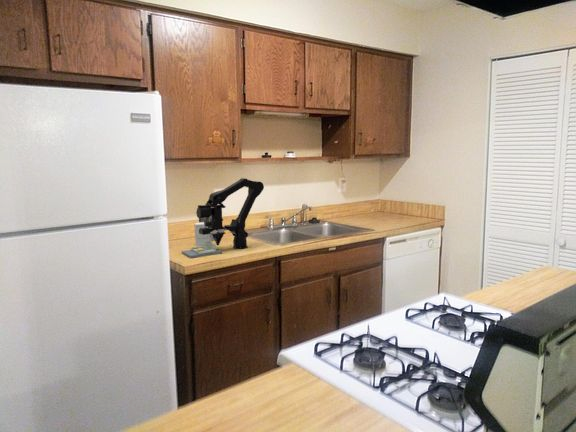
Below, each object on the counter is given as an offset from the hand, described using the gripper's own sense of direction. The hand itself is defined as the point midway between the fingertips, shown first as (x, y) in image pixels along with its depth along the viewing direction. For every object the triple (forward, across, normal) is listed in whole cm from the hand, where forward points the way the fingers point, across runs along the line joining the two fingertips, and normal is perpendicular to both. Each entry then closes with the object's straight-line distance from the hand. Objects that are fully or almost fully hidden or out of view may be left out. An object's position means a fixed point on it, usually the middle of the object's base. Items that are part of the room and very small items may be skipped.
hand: (217, 245), depth 227 cm
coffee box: (+3, -8, -31) cm, 32 cm away
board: (+3, +9, 0) cm, 10 cm away
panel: (+2, +8, 0) cm, 9 cm away
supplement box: (+3, 0, -20) cm, 20 cm away
